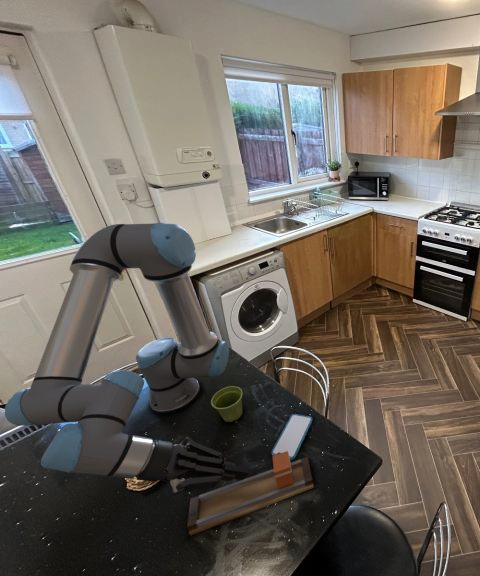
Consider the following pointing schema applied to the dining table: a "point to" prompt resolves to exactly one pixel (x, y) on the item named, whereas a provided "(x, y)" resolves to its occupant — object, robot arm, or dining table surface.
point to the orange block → (283, 470)
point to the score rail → (245, 497)
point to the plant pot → (228, 403)
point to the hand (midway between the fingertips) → (245, 473)
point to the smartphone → (292, 435)
